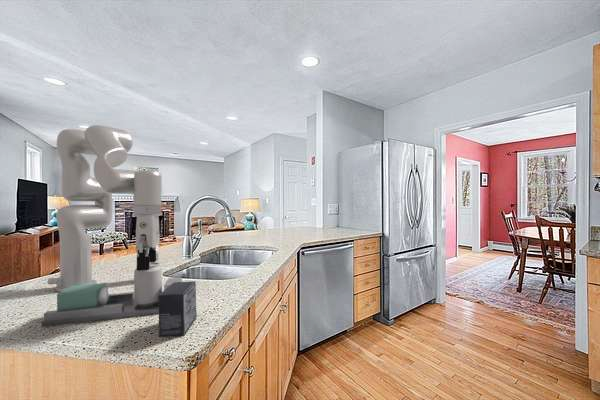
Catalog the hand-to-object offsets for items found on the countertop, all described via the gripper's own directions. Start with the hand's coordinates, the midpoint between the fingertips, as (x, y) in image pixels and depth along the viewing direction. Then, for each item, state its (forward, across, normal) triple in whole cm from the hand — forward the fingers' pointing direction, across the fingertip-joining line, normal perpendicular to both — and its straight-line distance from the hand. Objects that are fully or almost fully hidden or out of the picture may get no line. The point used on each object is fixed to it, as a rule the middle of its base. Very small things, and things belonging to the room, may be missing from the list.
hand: (146, 265), depth 86 cm
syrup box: (+14, +33, +6) cm, 36 cm away
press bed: (+13, -1, +7) cm, 15 cm away
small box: (+12, -18, -11) cm, 24 cm away
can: (+11, -1, -1) cm, 11 cm away
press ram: (+11, -1, +16) cm, 19 cm away
